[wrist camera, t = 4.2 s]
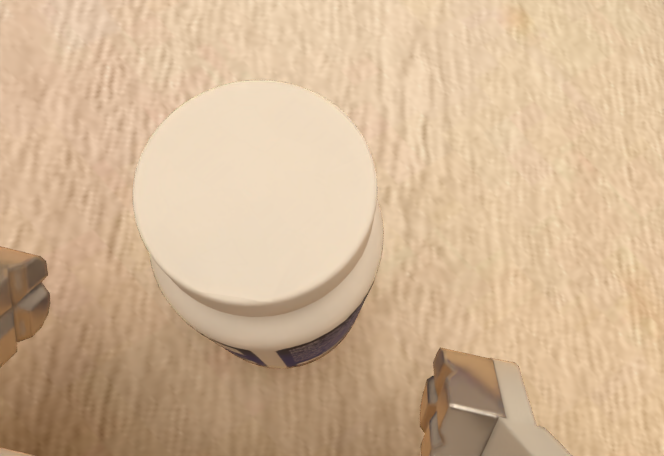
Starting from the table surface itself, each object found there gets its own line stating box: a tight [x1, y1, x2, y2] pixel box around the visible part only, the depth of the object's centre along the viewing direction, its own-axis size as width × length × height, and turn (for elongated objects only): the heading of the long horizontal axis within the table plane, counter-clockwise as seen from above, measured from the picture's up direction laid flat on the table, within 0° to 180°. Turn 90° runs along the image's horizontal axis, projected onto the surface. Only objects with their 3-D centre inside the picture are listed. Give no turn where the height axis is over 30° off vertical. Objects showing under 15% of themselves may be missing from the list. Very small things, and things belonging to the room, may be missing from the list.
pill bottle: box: [133, 80, 384, 368], centre depth 14 cm, size 6×6×10 cm
